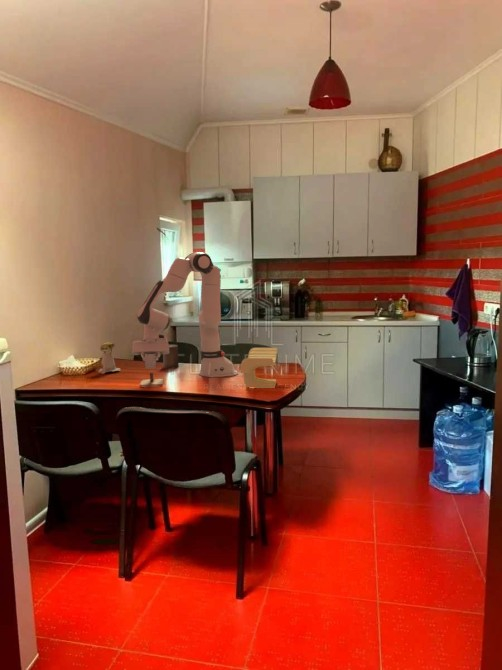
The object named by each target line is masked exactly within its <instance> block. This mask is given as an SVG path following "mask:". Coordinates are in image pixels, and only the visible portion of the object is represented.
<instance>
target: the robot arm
mask: <svg viewBox="0 0 502 670" xmlns="http://www.w3.org/2000/svg"><path fill="white" fill-rule="evenodd" d="M220 270H221V269H220V268H219V267H218V266H217V265H215V264H214V263H213V261H212V259H211V256H210V255H209V254H208V253H206V252H202V251H196V252H192V253H189V254H187V256H186V257H176V258H175V259H174V261H173V262H172V264H171V266H170V267H169V269H168V271H167V274H166V276H165V277H164V278H163V279H160V280H158V281H157V282H156V283H155V285H154V287H153V288H152V290H151V291H150V293H149V294H148V296H147V297H146V300H145V301H144V303H143V304H142V305H141V307H140V308H139V310H138V311H137V313H136V318H137V320H138V322H139V324H143V335H142V336H143V337H142V338H143V339H135V340H133V341H132V342H131V346H132V348H131V354H132V355H133V356H141V358H142V361H143V362H145V353H151V352H155V353H156V356H155V361H156V362H157V361H159V358H160V357H161V355H163V354H169V345H170V344H169V341H168V337H167V335H165V334H160V333H163V331H165V330H167V329H168V328H169V327H170V324H171V317H170V315H169V314H168V313H167V312H164V311H161V310H159V309H156V308H153V307H154V304H155V303H156V302H157V300H158V298H159V296H161V294H163V293H177V292H180V291H182V290H183V288H184V287H185V285H186V282H187V280H188V277H189V275H190V273H191V272H194V273H195V272H196V273H199V274H200V275H201V276H200V277H201V285H200V286H201V288H200V302H201V310H200V311H199V314H198V325H199V326H198V327H199V334H200V360H201V361H200V368H199V369H200V370H199V375H200V376H202V377H208V378H219V377H220V378H221V377H222V378H223V377H230V376H231V377H232V376H237V375H238V370H236V369H235V367H234V364H233V362H232V361H231V360H230V359H228V358H227V357H225V354H226V353H225V352H224V351H223V350H222V349H221V337H220V331H219V326H220V324H221V322H222V317H221V316H222V313H221V311H222V310H221V309H222V308H221V285H222V284H221V283H222V281H221V271H220Z"/></svg>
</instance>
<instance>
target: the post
mask: <svg viewBox="0 0 502 670" xmlns="http://www.w3.org/2000/svg"><path fill="white" fill-rule="evenodd" d="M149 378H150V379H149ZM149 378H148V379H141V381H140V383H139V388H140V387H144V388H159V387H160V386H162V387H163V386H164V383H165V382H164V381H165V379H164V378H154V372H149Z"/></svg>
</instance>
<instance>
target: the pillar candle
mask: <svg viewBox="0 0 502 670" xmlns="http://www.w3.org/2000/svg"><path fill="white" fill-rule="evenodd" d="M162 362H163V366H162V367H163V368H164V369H176V368H179V367H180V366H179V365H180V364H179V347H178V344H169V354H162Z"/></svg>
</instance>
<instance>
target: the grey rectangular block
mask: <svg viewBox="0 0 502 670" xmlns="http://www.w3.org/2000/svg"><path fill="white" fill-rule="evenodd" d="M155 356H157V354H156V353H155V352H151V353H145V355H144V357H145V361H144V366H145V367H144V368H145V370H154V369H156V368H157V361H155Z"/></svg>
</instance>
